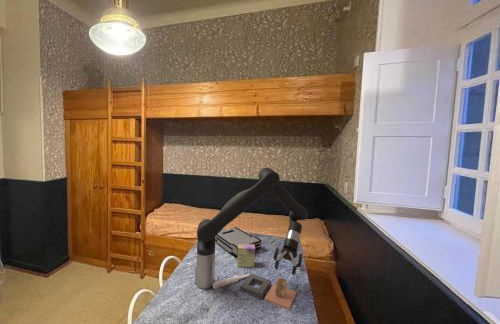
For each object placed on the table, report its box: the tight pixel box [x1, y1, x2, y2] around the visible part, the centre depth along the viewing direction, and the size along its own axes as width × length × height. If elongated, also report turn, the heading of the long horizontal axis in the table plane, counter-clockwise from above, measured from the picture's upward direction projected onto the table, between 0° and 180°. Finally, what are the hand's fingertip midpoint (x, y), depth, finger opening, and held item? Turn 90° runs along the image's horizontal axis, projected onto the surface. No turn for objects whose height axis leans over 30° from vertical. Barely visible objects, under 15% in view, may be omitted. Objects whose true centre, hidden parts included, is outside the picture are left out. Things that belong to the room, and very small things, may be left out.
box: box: [236, 244, 256, 268], centre depth 128 cm, size 10×6×12 cm, turn 92°
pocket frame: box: [239, 273, 272, 300], centre depth 108 cm, size 12×12×2 cm
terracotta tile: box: [263, 283, 297, 311], centre depth 102 cm, size 12×12×1 cm
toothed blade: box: [212, 273, 252, 289], centre depth 112 cm, size 3×4×22 cm
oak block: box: [275, 277, 287, 299], centre depth 102 cm, size 4×4×7 cm
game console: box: [215, 226, 262, 259], centre depth 152 cm, size 21×32×8 cm, turn 38°
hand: (284, 271), depth 104 cm, fingers open, 8 cm apart
